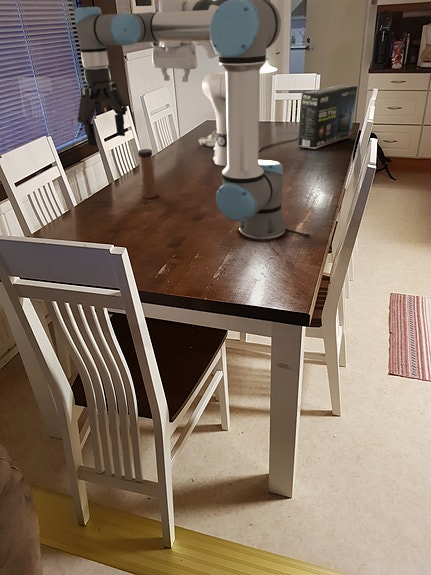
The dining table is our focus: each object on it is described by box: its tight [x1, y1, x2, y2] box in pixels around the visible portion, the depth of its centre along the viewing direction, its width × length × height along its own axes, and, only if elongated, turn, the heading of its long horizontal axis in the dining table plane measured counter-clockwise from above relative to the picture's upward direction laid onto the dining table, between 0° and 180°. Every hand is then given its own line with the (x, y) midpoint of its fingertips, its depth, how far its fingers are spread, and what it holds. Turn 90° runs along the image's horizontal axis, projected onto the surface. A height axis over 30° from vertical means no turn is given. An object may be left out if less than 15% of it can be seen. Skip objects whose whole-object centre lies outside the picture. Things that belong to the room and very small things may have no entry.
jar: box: [139, 155, 157, 199], centre depth 179 cm, size 4×4×18 cm
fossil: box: [198, 129, 217, 148], centre depth 249 cm, size 18×11×15 cm
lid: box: [137, 148, 153, 158], centre depth 174 cm, size 5×5×2 cm
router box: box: [297, 84, 358, 151], centre depth 238 cm, size 36×11×27 cm, turn 134°
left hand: (176, 81), depth 180 cm, fingers open, 8 cm apart
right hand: (107, 140), depth 148 cm, fingers open, 13 cm apart
